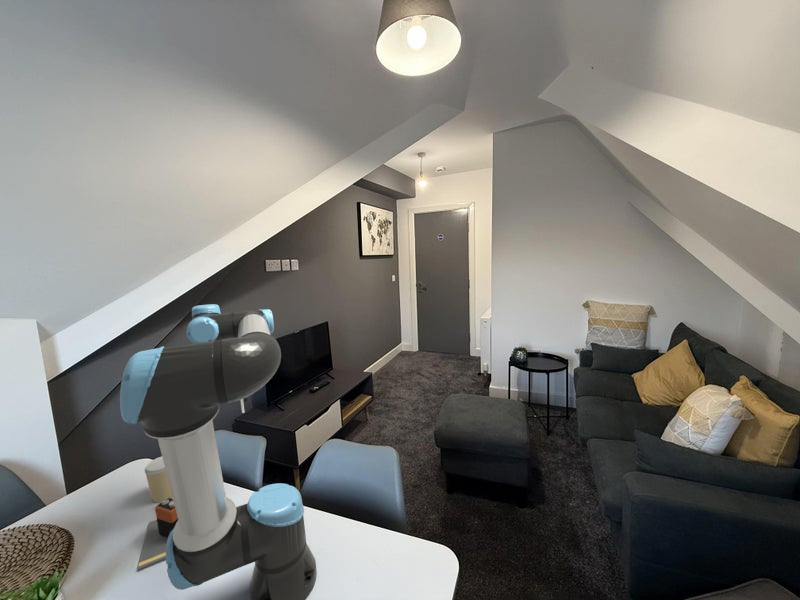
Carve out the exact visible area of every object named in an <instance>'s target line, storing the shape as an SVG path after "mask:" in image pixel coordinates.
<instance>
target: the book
mask: <svg viewBox="0 0 800 600" xmlns="http://www.w3.org/2000/svg"><path fill="white" fill-rule="evenodd" d="M167 540H168V538H167V537H164V536H161V535H159V530H158V524H157V519H154V520H152V521H149V523H148V526H147V530H146V533H145V538H144V542H143V546H142V550H141V554H140V558H139V562H138V565H137V572H140V571H143V570H145V569H147V568H149V567H152V566H154V565H155V566H156V565H157V564H159V563H162V562H164V561H165V562H166V545H167Z"/></svg>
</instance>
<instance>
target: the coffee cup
mask: <svg viewBox="0 0 800 600" xmlns="http://www.w3.org/2000/svg"><path fill="white" fill-rule="evenodd" d="M144 473H145V476H146V480H147V483H148V484H147V485H148V488H149V491H150V494H151V499H152V501H153V502H154V503H156V504H157V503H158V504H160V503H161V502H162V500H164V499H166V498H169V497H170V498H173V497H172V493H171V489H170V485H169V481H168V477H167V473H166V470H165V466H164V462H163V458H162V456H160V457H157V458H154V459H152V460H151V461H150V462H148V463H147V465H146V466H145V467H144Z"/></svg>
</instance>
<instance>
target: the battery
mask: <svg viewBox="0 0 800 600" xmlns="http://www.w3.org/2000/svg"><path fill="white" fill-rule="evenodd" d="M154 510H155V516H156V517H155V518H156V520H157V524H158V530H159V535H161V536H164V537H167V538H168V537H169V534H170V532H171V531H172V530H173V529H174V527H175V525H176V523H177V521H178V517H177V513H176V509H175V505H174V501H173V498H170V497H169V498H166V499H164V500H162V502H160V503H158V504H157V505H156V506H155V507H154Z"/></svg>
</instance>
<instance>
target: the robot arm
mask: <svg viewBox="0 0 800 600" xmlns="http://www.w3.org/2000/svg"><path fill="white" fill-rule="evenodd" d="M191 318H192V320H190V322H189V323H188V324H187V328H186V337H187V339H188V340H189V341H190V342H191V343H188V344H180V345H174V346H173V345H171V346H164V345H163V346H160V347H157V348H152V349H145V350H141V351H138V352H136V353H134V354H133V355H132V356H131V357H129V360H128V361H127V363H126V365H125V367H124V370H123V374H122V379H121V383H120V392H119V409H120V410H119V411H120V415H121V418H122V420H123V422H125V423H126V424H129V425H130V424H134V425H136V424H138V423H141V426H142V430H143V432H144V434H145V435H146V436H148V437H149V438H152V439H157V442H158V446H159V449H160V453H161V457H162V458H163V462H164V466H165V470H166V473H167V477H168V481H169V485H170V489H171V493H172V497H173V501H174V505H175V509H176V513H177V517H178V521H177V523H176V525H175V527H174V529H173V530H172V531H171V532H170V534H169V537H168V540H167V545H166V560H165V564H166V566H167V568H166V571H167V572H166V573H167V576H168V578H169V581H170V583H171V585H172V586H173V587H174V588H175V589H177V590H179V591H182V590H187V589H189V588H192V587H198V586H200V585H202V584H204V583H206V582H208V581H211V580H213V579H216V578H218V577H220V576H223V575H226V574H228V573H230V572H233V571H235V570H237V569H240V568H243V567H245V566H248V565H250V564H252V563H254V566H253V571H252V575H251V578H250V585H249V596H250V597H249V598H250V600H306V599H307V598H308V596H309V595H310V594H311V592H312V590H313V588H314V587H315V583H316V581H317V573H318V572H317V571H318V570H317V563H316V558H315V556H314V554H313V553H312V550H311V548H310V547H309V545H308V543H307V536H306V527H305V519H304V513H305V507H304V504H303V499H302V495H301V493H300V491H299V490H298V489H297V488H296V487H295V486H293V485H289V484H288V483H281V482H280V483H279V482H278V483H272V484H267V485H265V486H261V487H260V488H258V490H257V491H255V492H253V493H252V495H250V497H249V499H248V502H247V503H245V504H242V505H241V504H240V505H239V506H236V504H235V502H234V501H233V500H232V499H231V498H229V497H227V496H226V491H225V490H226V489H225V485H224V478H223V472H222V467H221V461H220V456H219V449H218V444H217V439H216V432H215V427H214V422H213V420H214V419H215V418H216V416H217V415H218V413H219V411H220V406H222V405H225V404H227V405H228V404H230V403H233V402H234V403H235V402H238V401H240V410H241V413H242V414H244V413H246V411H245V405H244V404H245V402H247V401H248V397H249V396H252V395H254V394H255V393H256V392H258V391H259V390H261V389H262V388H263V387H264V386H265V385H267V383H269V381H270V380H271V379H273V376H275V374H276V373H277V371H278V368H279V367H280V364H281V359H282V352H281V351H282V349H281V347H280V344H279V342H278V341H277V339H276V338H275V337H274V336H273V335H271V334H273V333H274V331H275V324H274V315H273V311H272V310H271V309H256V310H247V311H238V312H228V313H227V312H226V313H222V312H221V309H220V306H219V305H218V304H214V303H213V304H212V303H210V304H201V305H195V306H193V307H192V308H191Z"/></svg>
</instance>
